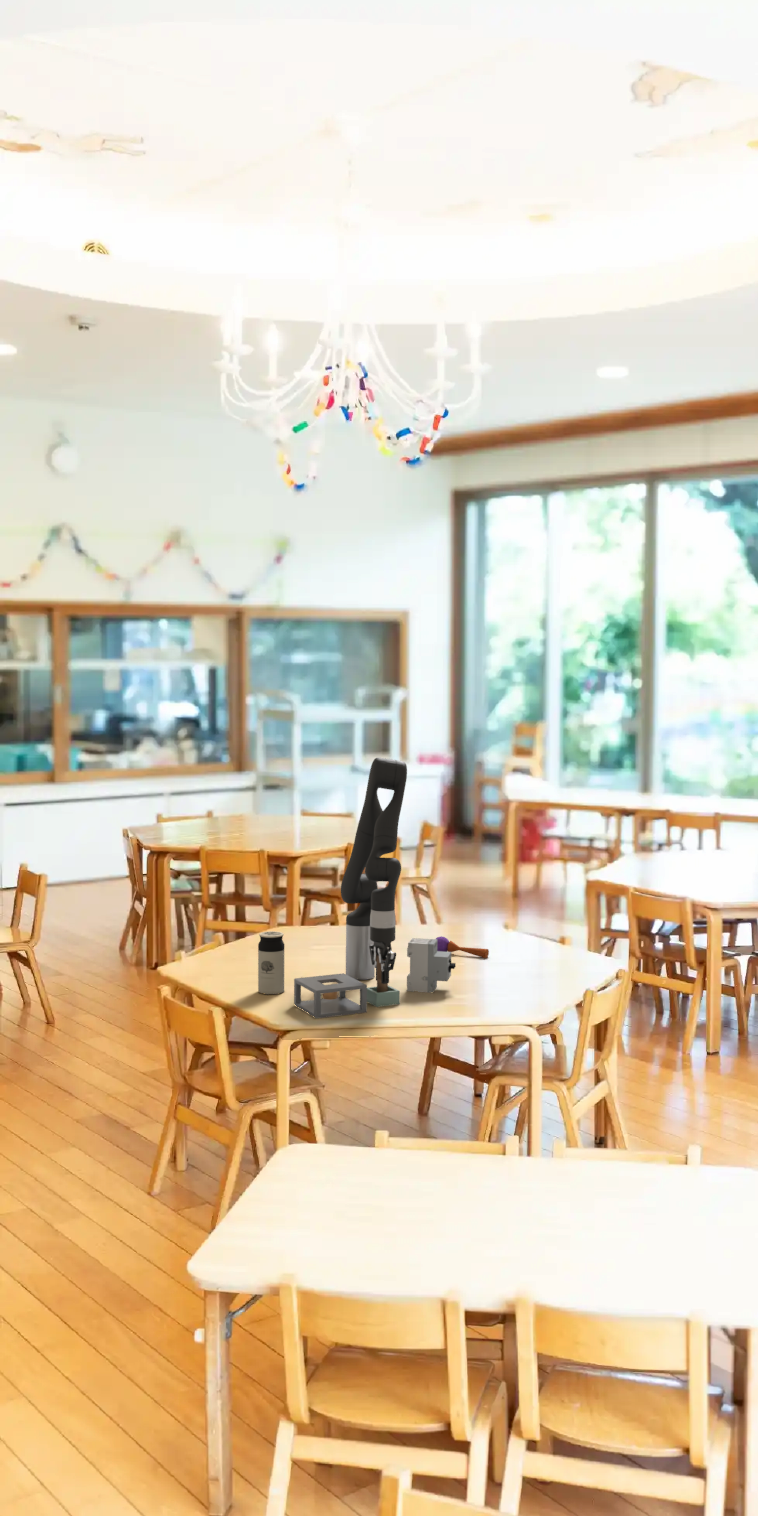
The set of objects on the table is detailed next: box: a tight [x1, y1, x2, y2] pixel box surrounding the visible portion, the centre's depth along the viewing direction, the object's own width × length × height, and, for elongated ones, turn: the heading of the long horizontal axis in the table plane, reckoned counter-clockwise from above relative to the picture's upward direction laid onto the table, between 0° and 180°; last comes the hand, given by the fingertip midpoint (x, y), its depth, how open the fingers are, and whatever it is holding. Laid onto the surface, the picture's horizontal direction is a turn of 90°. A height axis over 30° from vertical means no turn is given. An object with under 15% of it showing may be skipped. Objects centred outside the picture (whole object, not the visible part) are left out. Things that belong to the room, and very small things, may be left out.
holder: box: [367, 985, 401, 1008], centre depth 404 cm, size 8×8×4 cm
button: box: [322, 992, 339, 1000], centre depth 396 cm, size 4×4×3 cm
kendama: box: [435, 935, 490, 959], centre depth 470 cm, size 6×6×20 cm
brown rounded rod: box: [376, 955, 389, 993], centre depth 404 cm, size 3×3×14 cm
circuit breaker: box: [406, 937, 456, 993], centre depth 420 cm, size 8×14×15 cm, turn 78°
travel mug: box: [257, 930, 285, 995], centre depth 416 cm, size 8×8×18 cm
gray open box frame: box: [293, 972, 368, 1019], centre depth 396 cm, size 16×16×8 cm
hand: (382, 981), depth 404 cm, fingers closed on brown rounded rod, 3 cm apart
